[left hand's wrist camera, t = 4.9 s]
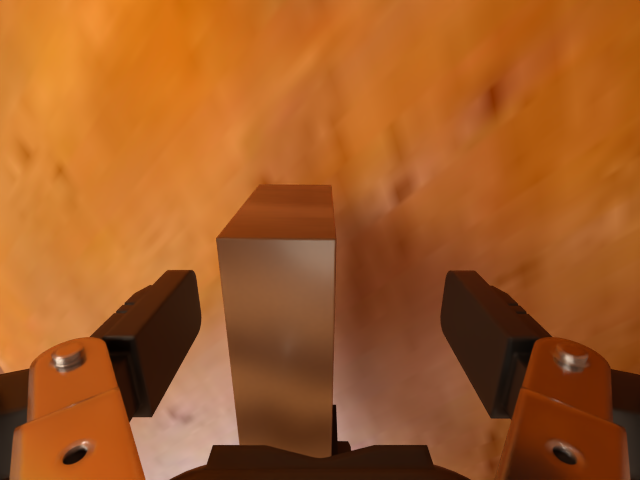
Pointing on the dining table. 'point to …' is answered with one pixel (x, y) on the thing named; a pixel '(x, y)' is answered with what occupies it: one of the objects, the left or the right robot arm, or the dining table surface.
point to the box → (282, 316)
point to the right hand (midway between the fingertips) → (298, 415)
